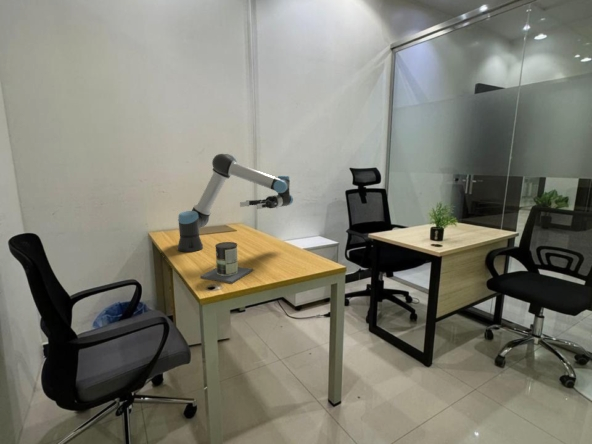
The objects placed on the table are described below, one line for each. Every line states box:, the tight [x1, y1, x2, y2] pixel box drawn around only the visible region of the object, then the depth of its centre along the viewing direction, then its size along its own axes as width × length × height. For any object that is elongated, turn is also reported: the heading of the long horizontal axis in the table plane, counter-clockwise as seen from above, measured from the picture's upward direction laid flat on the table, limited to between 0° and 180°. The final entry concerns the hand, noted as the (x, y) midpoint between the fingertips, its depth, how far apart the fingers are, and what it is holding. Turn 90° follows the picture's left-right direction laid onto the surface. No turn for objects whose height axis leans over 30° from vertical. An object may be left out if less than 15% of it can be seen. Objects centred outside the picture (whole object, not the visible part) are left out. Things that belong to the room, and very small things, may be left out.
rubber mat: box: [200, 266, 254, 284], centre depth 153 cm, size 18×18×1 cm
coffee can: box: [214, 241, 239, 276], centre depth 152 cm, size 10×10×14 cm
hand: (248, 205), depth 176 cm, fingers open, 13 cm apart
